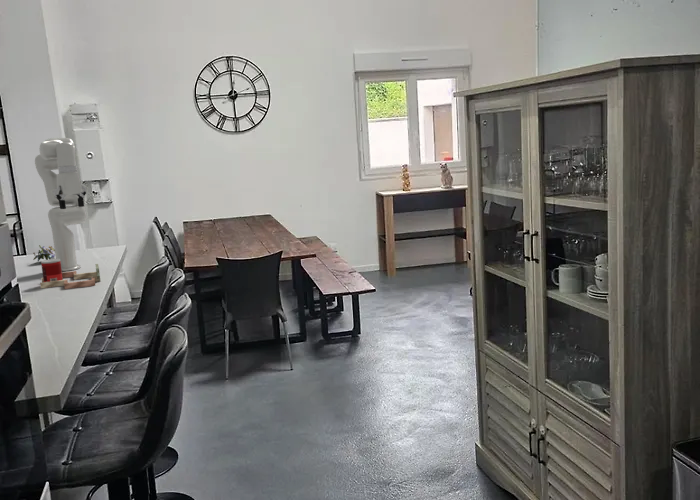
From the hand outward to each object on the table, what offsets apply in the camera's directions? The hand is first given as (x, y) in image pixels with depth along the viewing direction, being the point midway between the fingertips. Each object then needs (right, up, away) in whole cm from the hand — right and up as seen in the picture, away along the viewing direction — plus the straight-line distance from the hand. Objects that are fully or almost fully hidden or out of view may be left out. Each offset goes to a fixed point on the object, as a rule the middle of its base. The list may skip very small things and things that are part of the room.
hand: (72, 207), depth 295 cm
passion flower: (-39, -26, +56) cm, 73 cm away
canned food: (-7, -35, -3) cm, 36 cm away
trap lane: (0, -34, -1) cm, 34 cm away
